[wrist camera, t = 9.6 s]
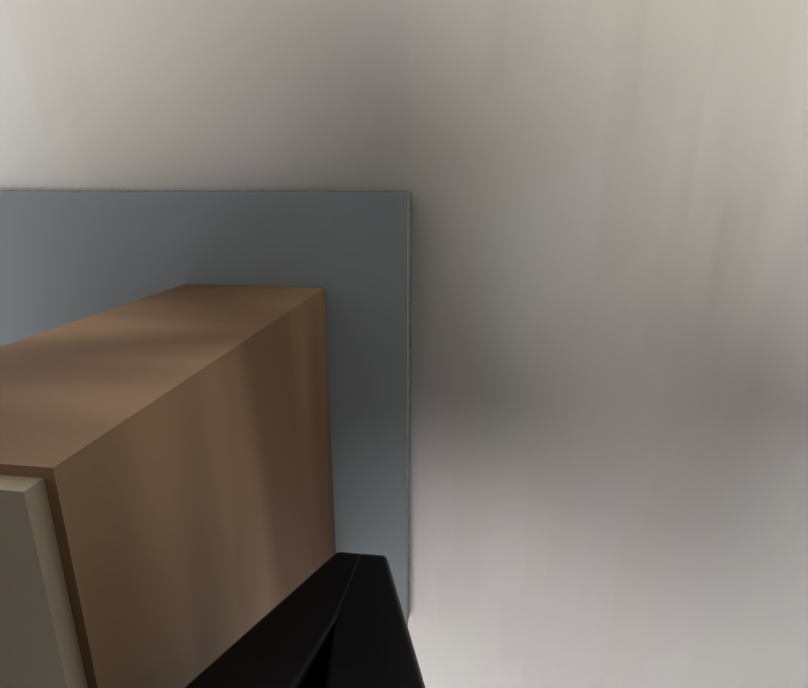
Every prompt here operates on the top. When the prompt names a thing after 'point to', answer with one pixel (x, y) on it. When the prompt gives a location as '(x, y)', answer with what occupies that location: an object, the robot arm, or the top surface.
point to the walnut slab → (160, 483)
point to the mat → (248, 266)
